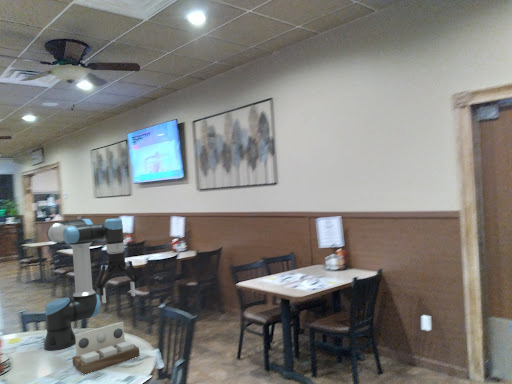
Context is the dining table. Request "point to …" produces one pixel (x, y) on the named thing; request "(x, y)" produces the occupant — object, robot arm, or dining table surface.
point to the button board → (105, 361)
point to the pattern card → (99, 338)
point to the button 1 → (89, 357)
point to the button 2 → (124, 346)
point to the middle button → (107, 351)
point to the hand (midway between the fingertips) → (119, 299)
